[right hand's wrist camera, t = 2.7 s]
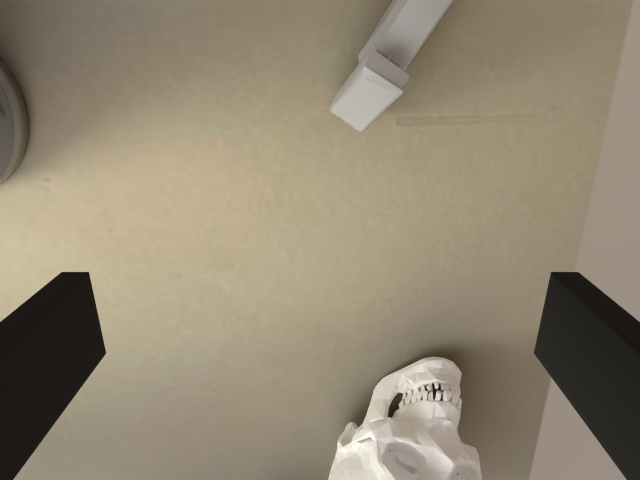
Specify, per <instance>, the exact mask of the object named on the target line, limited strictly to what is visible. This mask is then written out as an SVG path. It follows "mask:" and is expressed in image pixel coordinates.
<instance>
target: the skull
mask: <svg viewBox="0 0 640 480" xmlns="http://www.w3.org/2000/svg"><path fill="white" fill-rule="evenodd" d="M461 376H462V373H461V371H460V370H459V369H458V367H457V366H456V365H455V363H454V362H453V361H450V360H448V359H446V358H441V357H429V358H423V359H421V360H419V361H417V362H415V363H413V364H411V365H409V366H406V367H404V368H402V369H400V370H398V371H396V372H394V373H391V374H389V375H387V376H386V377H384V378H383V379H382V380H381V381H380V382H379V383H378V384H377V386H376V387H375V389H374V392H373V395H372V399H371V402H370V405H369V408H368V411H367V414H366V417H365V419H364V422H363V424H362V425H361V426H360V427H358V426H357V425H356V424H355V422H350V423H349V424H348V425H347V426H346V428H345V430H344V432H343V433H342V434H341V436H340V437H339V439H338V445H337V452H336V456H335V459H334V461H333V464H332V468H331V471H330V475H329V479H328V480H482V475H481V468H480V461H479V455H478V453H477V450H476V449H475V447H472V446H469V445H467V444H464V443H462V442H461V440H460V437H459V435H458V424H459V420H460V413H461V403H462V399H461V398H460V397H459V396H460V394H461V392H460V381H461ZM432 384H434V385H435V389H437V388H438V387H439V384H441V391H442V390H444V391H443V401H439V400H440V399H441V395H442V392H441V391H438V390H437V392H436V397H435V400H434V399H433V393H432ZM426 385H428V386H426ZM424 386H426V387H427V389H428V391H425V388H424ZM419 389H421V391H420V392H419ZM412 391H413V392H412ZM430 391H431V392H430ZM422 392H423V393H422ZM428 392H430V393H429V395H428V399H427V394H428ZM398 393H403V397H402V401H401V402H400V403H399V409H398V410H396V411H395V413H394V415H393V417H392V418H390V417H389V418H388V411H389V406H390V404H391V402H392V400H393V398H394V397H395V396H396V395H397V394H398ZM406 393H408V395H407V394H406ZM422 395H423V400H421V401H420V399H421V397H422Z"/></svg>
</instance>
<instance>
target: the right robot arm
mask: <svg viewBox="0 0 640 480" xmlns="http://www.w3.org/2000/svg"><path fill="white" fill-rule="evenodd" d="M27 141H28V117H27V111H26V107H25V103H24V100H23V97H22V94H21V92H20V89H19V87H18V85H17V83H16V81H15V79H14V77H13V75H12V74H11V72H10V71H9V69H8V68H7V66H6V65H5V63H4V62H3V61H2V60H1V58H0V183H2V182H3V181H5V180H6V179H7V178H8V177H9V176H10V175H11V174H12V173H13V172H14V171H15V170H16V168H17V167H18V166H19V164H20V162H21V160H22V158H23V156H24V153H25V150H26V146H27ZM105 354H106V351H105V346H104V341H103V337H102V332H101V327H100V322H99V318H98V313H97V308H96V304H95V299H94V294H93V289H92V285H91V280H90V275H89V272H61V273H60V274H59V275H58V276H57V277H55V278H54V279H53V280H52V281H50V282H49V283H48V284H47V285H45V286H44V287H43V288H42V289H41V290H39V291H38V292H37V293H36V294H34V295H33V296H32V297H31V298H29V299H28V300H27V301H26V302H25V303H23V304H22V305H21V306H20V307H18V308H17V309H16V310H15V311H13V312H12V313H11V314H10V315H9V316H7V317H6V318H5V319H4V320H2V321H1V322H0V480H13V479H14V478H15V476H16V475H17V474H18V472H19V471H20V470H21V468H22V467H23V466H24V464H25V463H26V461H27V460H28V459H29V457H30V456H31V455H32V453H33V452H34V451H35V449H36V448H37V447H38V445H39V444H40V442H41V441H42V440H43V438H44V437H45V436H46V434H47V433H48V432H49V430H50V429H51V427H52V426H53V425H54V423H55V422H56V421H57V419H58V418H59V417H60V415H61V414H62V413H63V411H64V410H65V408H66V407H67V406H68V404H69V403H70V402H71V400H72V399H73V398H74V396H75V395H76V393H77V392H78V391H79V389H80V388H81V387H82V385H83V384H84V383H85V381H86V380H87V379H88V377H89V376H90V374H91V373H92V372H93V370H94V369H95V368H96V366H97V365H98V364H99V362H100V361H101V359H102V358H103V357H104V355H105ZM534 354H535V355H536V357H537V358H538V359H539V361H540V362H541V364H542V365H543V366H544V368H545V369H546V370H547V372H548V373H549V374H550V376H551V377H552V379H553V380H554V381H555V383H556V384H557V385H558V387H559V388H560V389H561V391H562V392H563V393H564V395H565V396H566V398H567V399H568V400H569V401H570V403H571V404H572V406H573V407H574V408H575V410H576V411H577V413H578V414H579V415H580V417H581V418H582V419H583V421H584V422H585V423H586V425H587V426H588V427H589V429H590V430H591V432H592V433H593V434H594V436H595V437H596V438H597V440H598V441H599V442H600V444H601V445H602V447H603V448H604V449H605V451H606V452H607V453H608V455H609V456H610V457H611V459H612V460H613V461H614V463H615V464H616V466H617V467H618V468H619V470H620V471H621V472H622V474H623V475H624V476H625V478H626V479H627V480H640V322H639V321H638V320H636V319H635V318H634V317H633V316H631V315H630V314H629V313H628V312H627V311H625V310H624V309H623V308H622V307H620V306H619V305H618V304H617V303H615V302H614V301H613V300H612V299H611V298H609V297H608V296H607V295H606V294H604V293H603V292H602V291H601V290H599V289H598V288H597V287H596V286H595V285H593V284H592V283H591V282H590V281H588V280H587V279H586V278H585V277H583V276H582V275H581V274H580V273H578V272H551V275H550V280H549V285H548V289H547V294H546V299H545V304H544V308H543V313H542V318H541V322H540V327H539V332H538V337H537V341H536V346H535V351H534Z"/></svg>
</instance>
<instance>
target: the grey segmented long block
mask: <svg viewBox="0 0 640 480" xmlns="http://www.w3.org/2000/svg"><path fill="white" fill-rule="evenodd" d="M453 1H454V0H393V1H392V2H391V4H390V5H389V7H388V9H387V10H386V12H385V13H384V15H383V17H382V18H381V20H380V21H379V23H378V25H377V26H376V28H375V29H374V31H373V33H372V34H371V36H370V37H369V39H368V41H367V42H366V44H365V45H364V47H363V49H362V50H361V52H360V53H359V55H358V62H359V64H358V65H357V67H356V68H355V69H354V71H353V72H352V73H351V75H350V76H349V77H348V79H347V80H346V81H345V83H344V84H343V85H342V87H341V88H340V89H339V91H338V92H337V94H336V96H335V98H334V100H333V101H332V103H331V105H330V108H331V111H332V113H333V114H335V115H336V116H338V117H339V118H341V119H342V120H343V121H345V122H346V123H348V124H349V125H351V126H352V127H353V128H355V129H356V130H358V131H359V132H364V131H365V130H366V129H367V128H368V127H369V126H370V125H371V124H372V123H373V122H374V121H375V120H376V119H377V118H378V117H379V116H380V115H381V114H382V113H383V112H384V111H385V110H386V109H387V108H388V107H389V106H390V105H391V104H392V103H393V102H394V101H395V100H396V99H397V98H398V97H399V96H400V95H401V94H402V93H403V88H404V86H405V85H406V83H407V82H408V80H409V79H410V77H411V76H410V75H409V74H408V73H406V72H405V70H406V68H407V67H408V65H409V64H410V62H411V61H412V60H413V58H414V57H415V55H416V54H417V53H418V51H419V50H420V48H421V47H422V46H423V44H424V43H425V41H426V40H427V38H428V37H429V35H430V34H431V32H432V31H433V30H434V28H435V27H436V25H437V24H438V22H439V21H440V19H441V18H442V16H443V15H444V13H445V12H446V11H447V9H448V8H449V6H450V5H451V4H452V2H453Z"/></svg>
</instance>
